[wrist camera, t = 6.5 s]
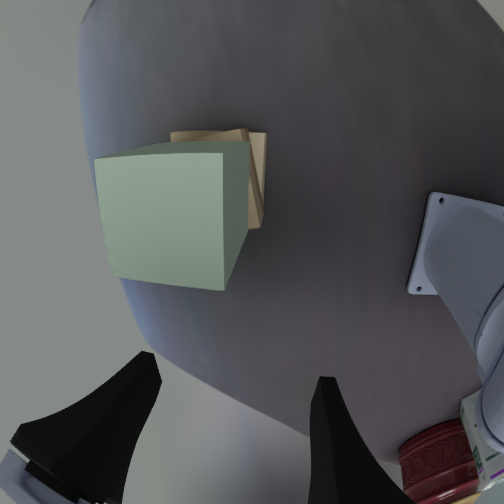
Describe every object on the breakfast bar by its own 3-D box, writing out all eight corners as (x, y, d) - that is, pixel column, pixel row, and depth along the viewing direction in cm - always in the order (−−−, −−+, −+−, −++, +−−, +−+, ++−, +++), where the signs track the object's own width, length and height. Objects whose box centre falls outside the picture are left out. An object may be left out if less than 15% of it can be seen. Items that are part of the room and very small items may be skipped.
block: (250, 141, 12) (223, 152, 7) (248, 231, 14) (224, 291, 9) (160, 142, 13) (94, 159, 8) (165, 225, 15) (112, 276, 10)
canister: (481, 414, 27) (505, 499, 11) (435, 453, 33) (446, 527, 17) (430, 419, 27) (450, 525, 12) (382, 457, 33) (387, 545, 17)
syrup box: (460, 399, 25) (486, 487, 12) (495, 379, 23) (527, 461, 10) (459, 415, 27) (479, 493, 14) (491, 397, 25) (517, 472, 12)
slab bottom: (268, 132, 17) (264, 133, 14) (263, 213, 19) (259, 226, 17) (185, 130, 17) (170, 132, 15) (186, 208, 20) (172, 219, 17)
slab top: (247, 127, 14) (239, 128, 12) (264, 212, 16) (259, 227, 14) (165, 147, 15) (146, 152, 13) (186, 224, 17) (171, 240, 15)
